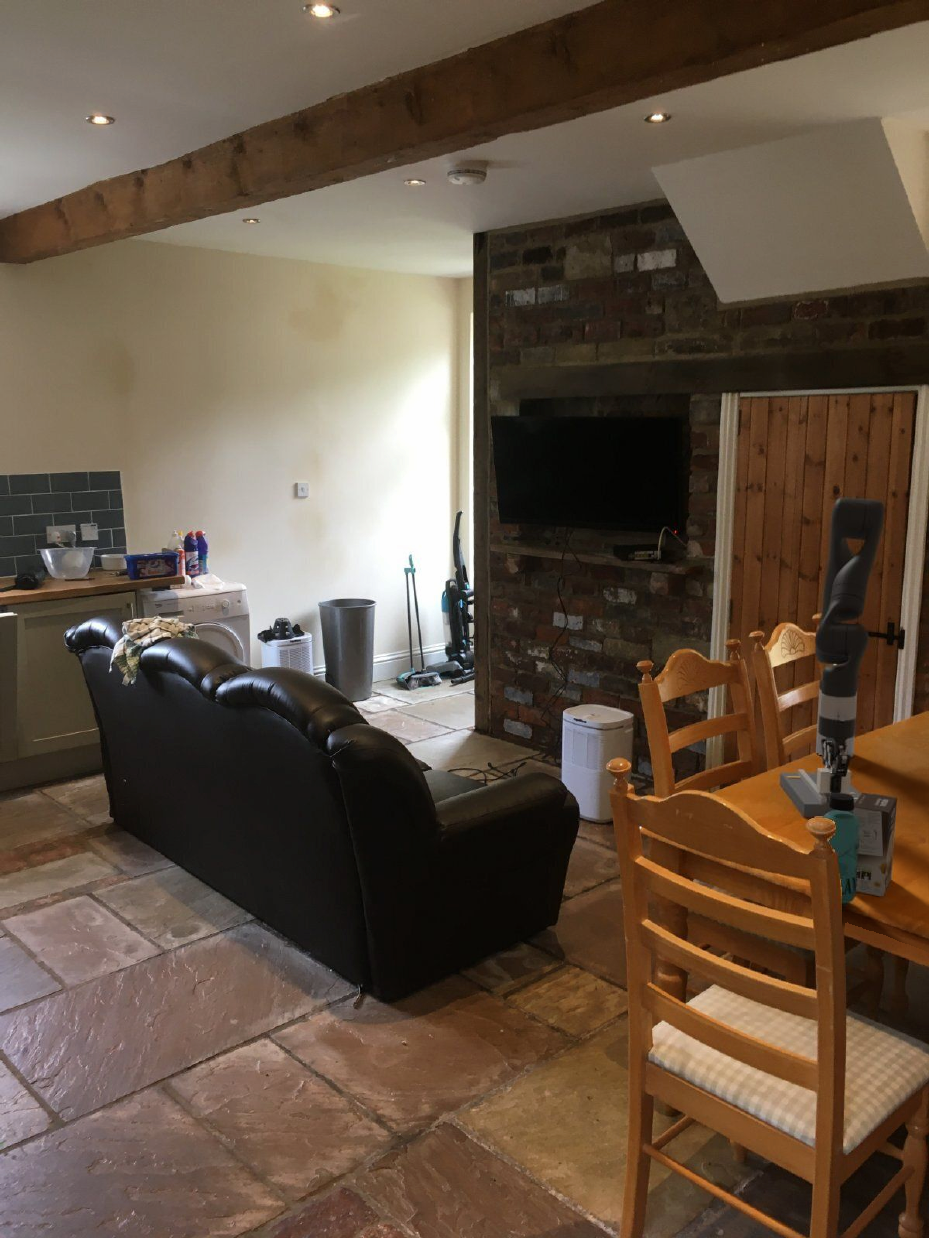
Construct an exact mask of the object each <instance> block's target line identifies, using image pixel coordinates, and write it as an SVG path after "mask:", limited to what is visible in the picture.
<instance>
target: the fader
mask: <svg viewBox="0 0 929 1238" xmlns="http://www.w3.org/2000/svg"><path fill="white" fill-rule="evenodd" d="M838 771H840V770H838ZM816 773H817V790H818V791H819V792H820V793H824V795H825V796H826V797H827V800H828V801H830V796H831V794H834V793H831V792H830V776H831V775H830V773H831V768H825V767H818V768H817V772H816ZM851 773H852V771H850V770H849V769H848V771H847V774H846V777H842V781H841V792H840V793H850V784H851V778H852V774H851Z"/></svg>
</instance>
